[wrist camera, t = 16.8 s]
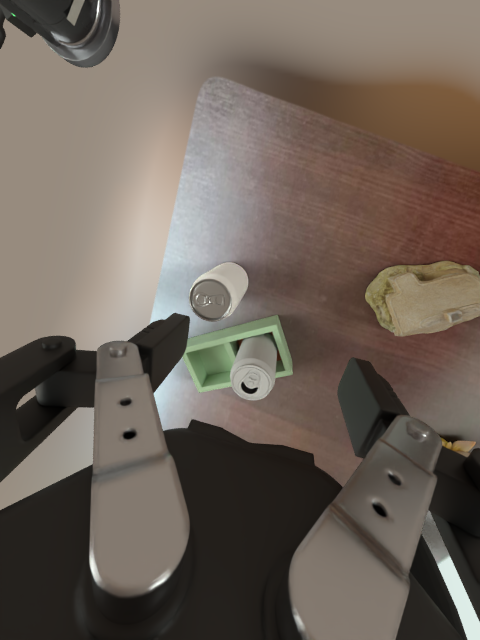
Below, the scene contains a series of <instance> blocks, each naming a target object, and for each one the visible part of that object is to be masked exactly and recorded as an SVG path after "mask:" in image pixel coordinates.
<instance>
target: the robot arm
mask: <svg viewBox="0 0 480 640" xmlns="http://www.w3.org/2000/svg"><path fill="white" fill-rule="evenodd" d="M101 15H102V0H0V49H1V47H2V45H3V43H4V40H5V37H6V34H5V31H4V28H3V22H4V20H5V18H6V19H7V20H8V21H9V22H10V23H12V24H13V25H15V26H16V27H17V28H19V29H20V30H21V31H23V32H24V33H26V34H27V35H28V36H30V37H33V36H34V35H35V34H36V33H38V34H39V35H40V36H42V37H43V38H44V39H46V40H47V41H48V42H50V43H51V44H52V45H53V46H55V47H58V46H60V45H65V46H67V47H71V48H78V47H82V46H84V45H86V44H87V43H88V42H89V41H90V40H91V39H92V38H93V37H94V35H95V34H96V32H97V30H98V27H99V24H100V20H101ZM189 323H190V318H189V316H185V315H181V314H177V313H173V314H172V315H171V316H170V317H168V318H167V319H166V320H158V321H155V322H152V323H151V324H150V325H148V326H147V328H144V329H143V330H142V331H141V332H139V333H137V334H136V335H135V336H134V337H132V338H131V339H129V340H128V341H113V342H109V343H105V344H103V345H101V346H100V347H99V348H98V350H97V351H85V350H76V343H75V341H74V340H73V339H72V338H70V337H66V336H49V337H44V338H40V339H38V340H35V341H33V342H31V343H29V344H27V345H25V346H23V347H21V348H19V349H17V350H15V351H13V352H11V353H9V354H7V355H5V356H3V357H1V358H0V482H1V481H2V480H3V479H4V478H5V477H6V476H8V475H9V474H10V473H11V471H13V470H14V469H15V468H16V467H17V466H18V465H19V464H20V463H21V462H22V461H23V460H24V459H25V458H26V457H27V456H28V455H29V454H30V453H31V452H32V451H33V450H34V449H35V448H36V447H37V446H38V445H39V444H41V443H42V442H43V441H44V440H45V439H46V438H47V437H48V436H49V435H50V434H51V433H52V432H53V431H54V430H55V429H56V428H57V427H58V426H59V425H60V424H61V423H62V422H63V421H64V420H65V419H66V418H67V417H68V416H69V415H70V414H71V413H72V412H73V411H75V410H76V408H78V407H94V446H93V464H92V465H90V466H88V467H87V468H84V469H82V470H80V471H78V472H76V473H74V474H72V475H70V476H68V477H66V478H64V479H62V480H60V481H58V482H56V483H54V484H52V485H50V486H48V487H46V488H44V489H42V490H40V491H38V492H36V493H34V494H32V495H30V496H28V497H26V498H24V499H22V500H20V501H18V502H16V503H14V504H12V505H10V506H8V507H6V508H4V509H2V510H0V640H463V639H462V637H461V636H460V635H459V634H458V632H457V631H456V630H455V629H454V627H453V626H452V625H451V623H450V622H449V621H448V620H447V618H446V617H445V616H444V615H443V613H442V612H441V611H440V610H439V608H438V607H437V606H436V604H435V603H434V602H433V601H432V599H431V598H430V597H429V596H428V594H427V593H426V592H425V590H424V589H423V588H422V587H421V585H420V584H419V583H418V582H417V580H416V579H415V578H414V576H413V575H412V574H411V573H410V568H411V565H412V561H413V558H414V555H415V551H416V548H417V545H418V542H419V538H420V535H421V532H422V528H423V525H424V522H425V519H426V515H427V512H428V510H429V511H430V512H431V515H432V517H433V519H434V521H435V523H436V526H437V528H438V530H439V532H440V535H441V537H442V539H443V541H444V543H445V546H446V548H447V550H448V552H449V554H450V557H451V559H452V561H453V563H454V566H455V568H456V570H457V572H458V574H459V577H460V579H461V581H462V583H463V586H464V588H465V590H466V592H467V594H468V596H469V599H470V601H471V603H472V605H473V608H474V610H475V612H476V614H477V617H478V619H479V621H480V448H476V449H474V450H473V451H472V452H471V453H470V454H469V456H468V457H466V456H463V455H461V454H459V453H457V452H455V451H453V450H451V449H448V448H446V447H444V446H442V444H443V443H442V440H441V438H440V436H439V435H438V434H437V433H436V432H435V431H434V430H433V429H432V428H431V427H430V426H428V425H427V424H425V423H424V422H422V421H420V420H418V419H416V418H414V417H411V416H410V415H409V414H408V412H407V410H406V409H405V407H404V406H403V404H402V403H401V401H400V400H399V398H397V395H396V393H395V392H393V389H392V387H391V386H390V384H389V383H388V382H387V381H386V380H385V379H384V378H383V377H382V376H380V375H379V374H377V372H376V371H375V369H374V368H373V366H372V364H371V363H370V362H369V361H365V360H361V359H357V358H351V359H350V360H349V362H348V364H347V367H346V369H345V372H344V374H343V376H342V379H341V381H340V383H339V386H338V399H339V403H340V406H341V409H342V413H343V416H344V419H345V423H346V426H347V429H348V433H349V436H350V439H351V443H352V446H353V449H354V453H355V456H357V457H360V458H364V459H363V461H362V462H361V463H360V465H359V466H358V468H357V469H356V470H355V472H354V473H353V475H352V476H351V477H350V479H349V480H348V481H347V483H346V484H345V486H344V487H342V486H341V485H340V484H339V483H338V482H337V481H336V480H335V479H334V478H332V477H331V476H330V475H329V474H327V473H326V472H325V471H323V470H321V469H320V468H318V467H316V466H315V464H314V455H313V454H312V453H308V452H305V451H301V450H298V449H294V448H291V447H287V446H284V445H272V444H256V443H249V442H247V441H245V440H243V439H241V438H240V437H238V436H236V435H234V434H232V433H230V432H228V431H226V430H225V429H223V428H221V427H218V426H214V425H211V424H207V423H204V422H200V421H197V420H193V419H192V420H191V422H190V424H189V426H188V428H176V429H169V430H165V431H163V429H162V425H161V422H160V418H159V414H158V410H157V406H156V402H155V398H154V394H153V393H154V392H155V391H156V389H157V388H158V387H159V386H160V384H161V383H162V382H163V381H164V379H165V378H166V377H167V375H168V374H169V373H170V372H171V370H172V369H173V368H174V367H175V365H176V364H177V363H178V361H179V360H180V359H181V358H182V356H183V355H184V353H185V350H186V347H187V340H188V332H189ZM34 388H35V391H36V395H35V396H34V397H33V398H31V399H30V400H29V401H27V402H26V403H25V404H23V405H22V406H21V407H19V408H18V409H17V410H16V407H17V404H18V402H19V401H20V399H21V398H22V397H23V396H24V395H25V394H27V393H28V392H30V391H31V390H32V389H34Z"/></svg>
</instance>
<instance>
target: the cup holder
mask: <svg viewBox="0 0 480 640" xmlns="http://www.w3.org/2000/svg"><path fill="white" fill-rule="evenodd" d="M264 333H269V334H271V335H272V336H273V337H274V338H275V341H276V344H277V361H276V373H275V378H277V377H283V376H288V375H292V374H293V373H292V359H291V356H290V352H289V349H288V346H287V343H286V340H285V337H284V333H283V330H282V327H281V324H280V321H279V318H278V315H275V316H271V317H267V318H263V319H260V320H256V321H252V322H248V323H245V324H241V325H237V326H233V327H230V328H226V329H222V330H218V331H215V332H211V333H207V334H203V335H200V336H196V337H192V338H188V340H187V347H186V350H185V353H184V355H183V356H182V357H183V359H184V361H185V364H186V366H187V368H188V370H189V372H190V374H191V377H192V379H193V381H194V383H195V385H196V387H197V389H198V392H199V393H200V392H205V391H210V390H215V389H221V388H226V387H231V379H230V372H231V369H232V366H233V364H234V361H235V359H236V356H237V353H238V351H239V348H240V346H241V343H242V341H243V339H244V338H248V337H252V336H256V335H260V334H264Z"/></svg>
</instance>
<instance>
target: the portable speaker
mask: <svg viewBox="0 0 480 640" xmlns="http://www.w3.org/2000/svg"><path fill="white" fill-rule="evenodd" d="M410 573H411V574H412V575H413V576H414V578H415V579H416V580H417V582H418V583H419V584H420V585H421V587H422V588H423V589H424V590H425V592H426V593H427V594H428V596H429V597H430V598H431V599H432V601H433V602H434V603H435V604H436V606H437V607H438V608H439V610H440V611H441V612H442V613H443V615H444V616H445V617H446V618H447V620H448V621H449V622H450V623H451V625H452V626H453V627H454V629H455V630H456V631H457V632H458V634H459V635H460V636H461V637H462V639H463V640H467V637H466V634H465V632H464V629H463V626H462V623H461V620H460V617H459V614H458V611H457V609H456V606H455V604H454V602H453V600H452V597H451V595H450V593H449V591H448V588H447V586H446V584H445V582H444V579H443V577H442V575H441V573H440V570H439V568H438V566H437V564H436V561H435V559H434V557H433V555H432V553H431V551H430V549H429V547H428V545H427V544H426V542H425V540H424V538H423V536H422V534H421V535H420V538H419V542H418V545H417V548H416V551H415V555H414V558H413V561H412V565H411V568H410Z"/></svg>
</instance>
